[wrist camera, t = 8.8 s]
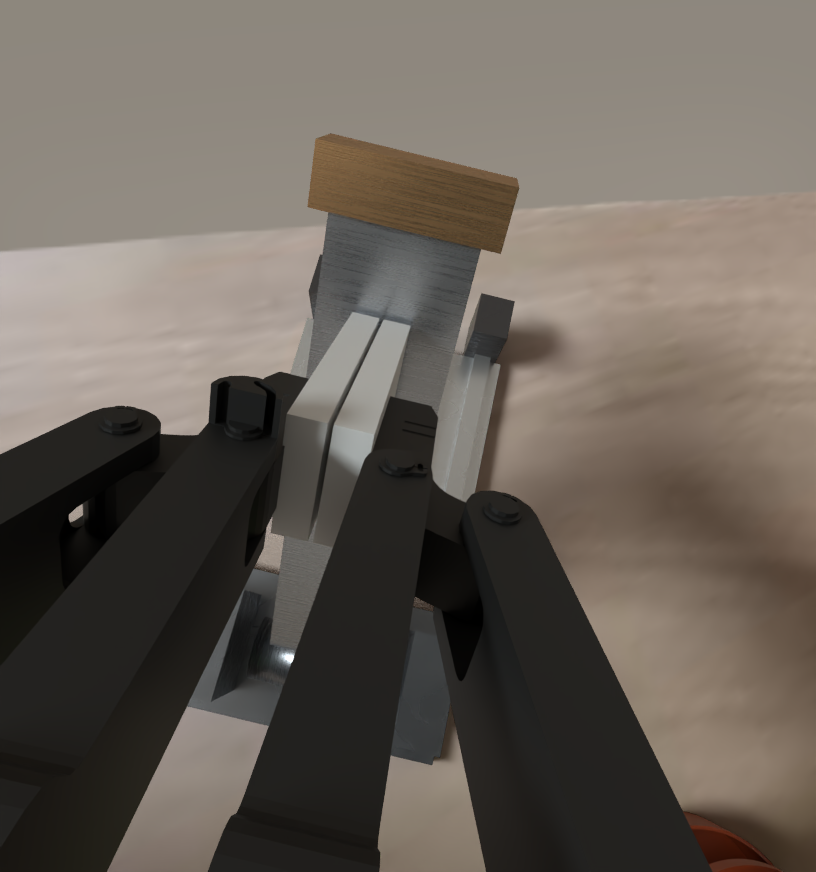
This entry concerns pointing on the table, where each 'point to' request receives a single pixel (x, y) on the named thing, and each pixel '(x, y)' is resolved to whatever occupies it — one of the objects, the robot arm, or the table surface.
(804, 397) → the table surface
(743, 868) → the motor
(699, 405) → the table surface
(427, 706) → the bracket
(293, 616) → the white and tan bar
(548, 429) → the table surface
